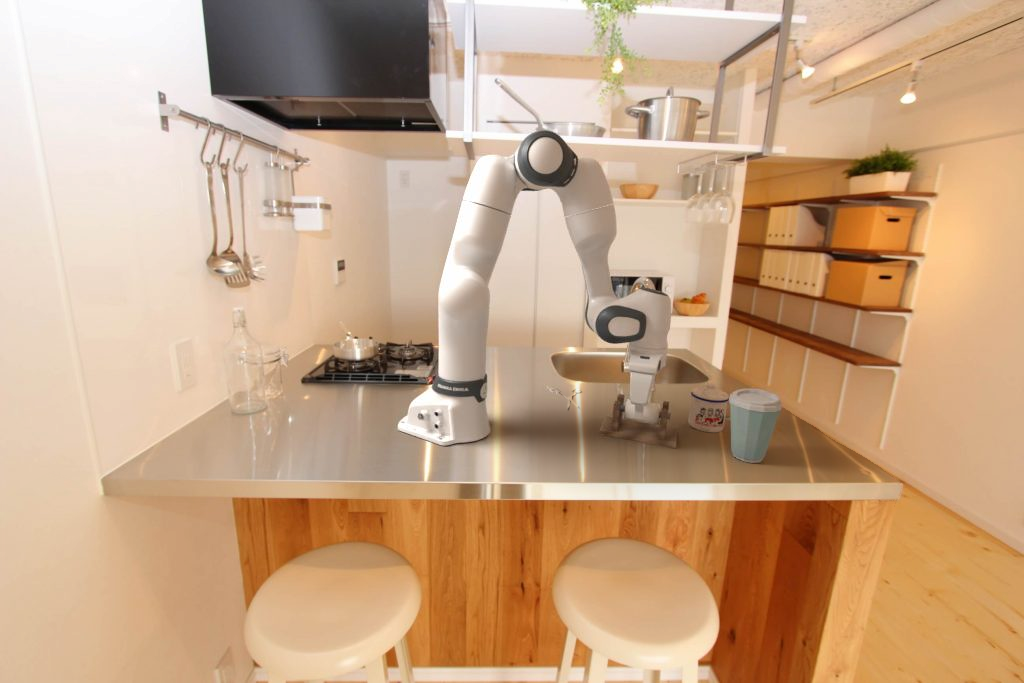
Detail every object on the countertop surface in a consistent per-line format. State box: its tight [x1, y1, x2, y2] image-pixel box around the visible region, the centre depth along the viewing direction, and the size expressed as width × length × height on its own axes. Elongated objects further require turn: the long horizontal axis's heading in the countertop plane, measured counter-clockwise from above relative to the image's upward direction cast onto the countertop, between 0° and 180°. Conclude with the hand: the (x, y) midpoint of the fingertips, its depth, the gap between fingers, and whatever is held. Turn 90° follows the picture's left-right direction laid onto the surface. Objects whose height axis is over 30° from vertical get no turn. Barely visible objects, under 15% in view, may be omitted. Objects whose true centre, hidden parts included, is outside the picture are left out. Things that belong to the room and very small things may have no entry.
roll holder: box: [598, 393, 679, 449], centre depth 117 cm, size 18×10×8 cm, turn 69°
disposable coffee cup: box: [728, 388, 783, 464], centre depth 107 cm, size 11×11×15 cm
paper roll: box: [620, 398, 672, 425], centre depth 117 cm, size 13×5×5 cm
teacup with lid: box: [687, 382, 731, 433], centre depth 123 cm, size 12×9×12 cm
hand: (640, 410), depth 117 cm, fingers open, 8 cm apart
